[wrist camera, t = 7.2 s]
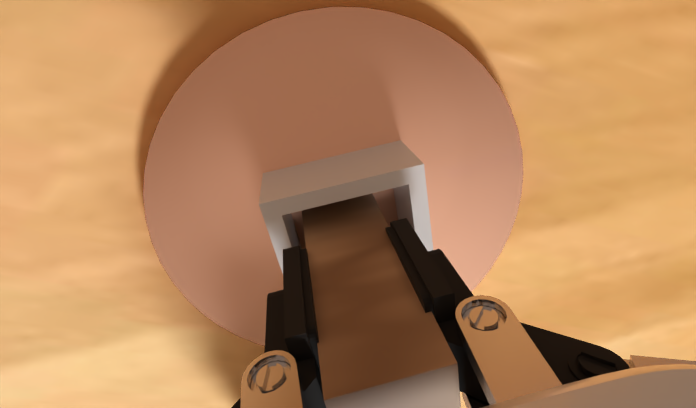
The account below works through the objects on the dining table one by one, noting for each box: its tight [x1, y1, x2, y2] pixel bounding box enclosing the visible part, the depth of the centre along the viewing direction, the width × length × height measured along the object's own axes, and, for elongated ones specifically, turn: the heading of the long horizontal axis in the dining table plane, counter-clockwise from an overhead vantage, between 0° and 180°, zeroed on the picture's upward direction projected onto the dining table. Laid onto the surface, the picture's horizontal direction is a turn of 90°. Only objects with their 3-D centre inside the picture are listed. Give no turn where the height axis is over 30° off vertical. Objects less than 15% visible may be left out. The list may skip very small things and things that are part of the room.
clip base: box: [143, 7, 523, 346], centre depth 15 cm, size 16×16×4 cm
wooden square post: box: [302, 193, 461, 408], centre depth 12 cm, size 3×3×9 cm
